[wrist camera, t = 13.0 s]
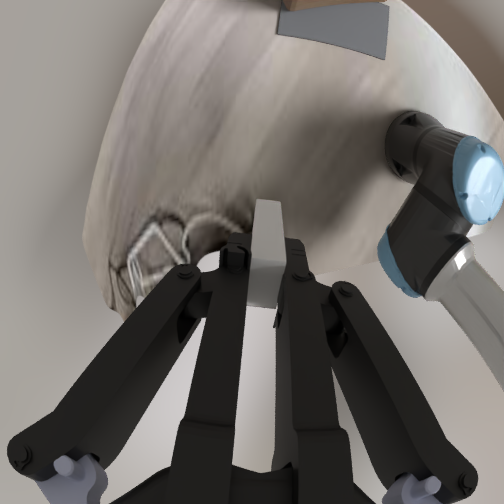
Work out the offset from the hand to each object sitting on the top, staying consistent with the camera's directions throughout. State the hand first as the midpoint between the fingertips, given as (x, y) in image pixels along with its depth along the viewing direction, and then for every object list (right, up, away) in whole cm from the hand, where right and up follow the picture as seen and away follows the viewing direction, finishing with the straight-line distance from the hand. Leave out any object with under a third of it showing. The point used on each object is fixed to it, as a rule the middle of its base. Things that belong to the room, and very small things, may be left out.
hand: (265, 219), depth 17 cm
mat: (+14, +40, +15) cm, 45 cm away
